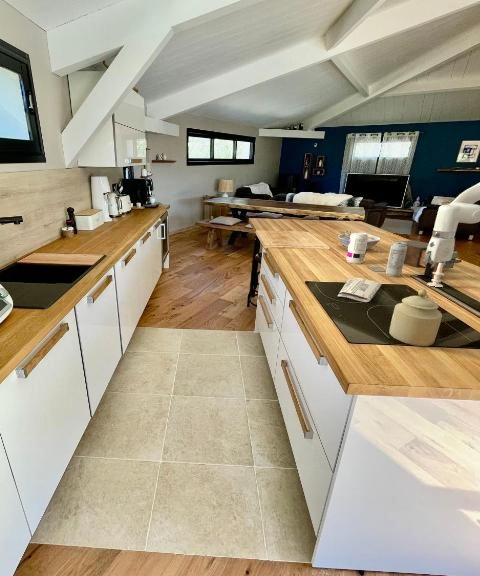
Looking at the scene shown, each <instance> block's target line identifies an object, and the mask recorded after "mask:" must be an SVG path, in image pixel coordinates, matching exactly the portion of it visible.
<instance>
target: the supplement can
mask: <svg viewBox="0 0 480 576" xmlns="http://www.w3.org/2000/svg"><path fill="white" fill-rule="evenodd" d="M350 234H351V235H350V240H349V246H348V247H347V252H346V259H345V261H346V262H347V263H349V264H353V265H361V264H363V263H364V262H365V256H366V251H367V249H366V246H367V241H368V235H369V234H368V233H367V232H361V231H354V232H351V233H350Z"/></svg>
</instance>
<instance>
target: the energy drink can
mask: <svg viewBox="0 0 480 576" xmlns="http://www.w3.org/2000/svg"><path fill="white" fill-rule="evenodd" d="M406 244H407V243H405V242H400V241H393V243H392V244H391V246H390V249H389V255H388V259H387V264H386V269H385V273H386V276H388V277H392V278H399V277H400V276H401V275H402V272H403V268H404V260H405V255H406V251H407V245H406Z"/></svg>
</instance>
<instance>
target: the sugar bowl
mask: <svg viewBox="0 0 480 576" xmlns="http://www.w3.org/2000/svg"><path fill="white" fill-rule="evenodd" d="M427 292H428V291H427V289H425V288H421V289H419V291H418V292H417V295H410V296H407V297H404V298H402V299H401V302H399V303H397V304H396V305H395V306H394V309H393V313H392V317H391V321H390V326H389V330H388V331H389V332H388V333H389V335H390V336H391V337H392V338H393V339H394V340H397V341H399V342H401V343H404V344H407V345H411V346H415V347H416V346H417V347H429V346H432V345H433V344H434V343H435V341H436V337H437V335H438V331H439V329H440V325H441V322H442V318H443V314H442V312H441V311H439V310H438V309H439V304H438V303H436V302H435V301H434V300H433V299H431V298H429V294H428V293H427Z"/></svg>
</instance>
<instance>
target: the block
mask: <svg viewBox="0 0 480 576" xmlns="http://www.w3.org/2000/svg"><path fill="white" fill-rule="evenodd" d="M433 268H434V271H433V272H436V271H437V268H438V265H434V267H433ZM425 270H426V267H425V268H424V272H423V275H424V274H425ZM444 270H445V269H444V267H443V268H442V272H441V273H443V274H444ZM434 276H435V274H432V277H431V278H432V279H434ZM442 277H443V275H441V278H442Z"/></svg>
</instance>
